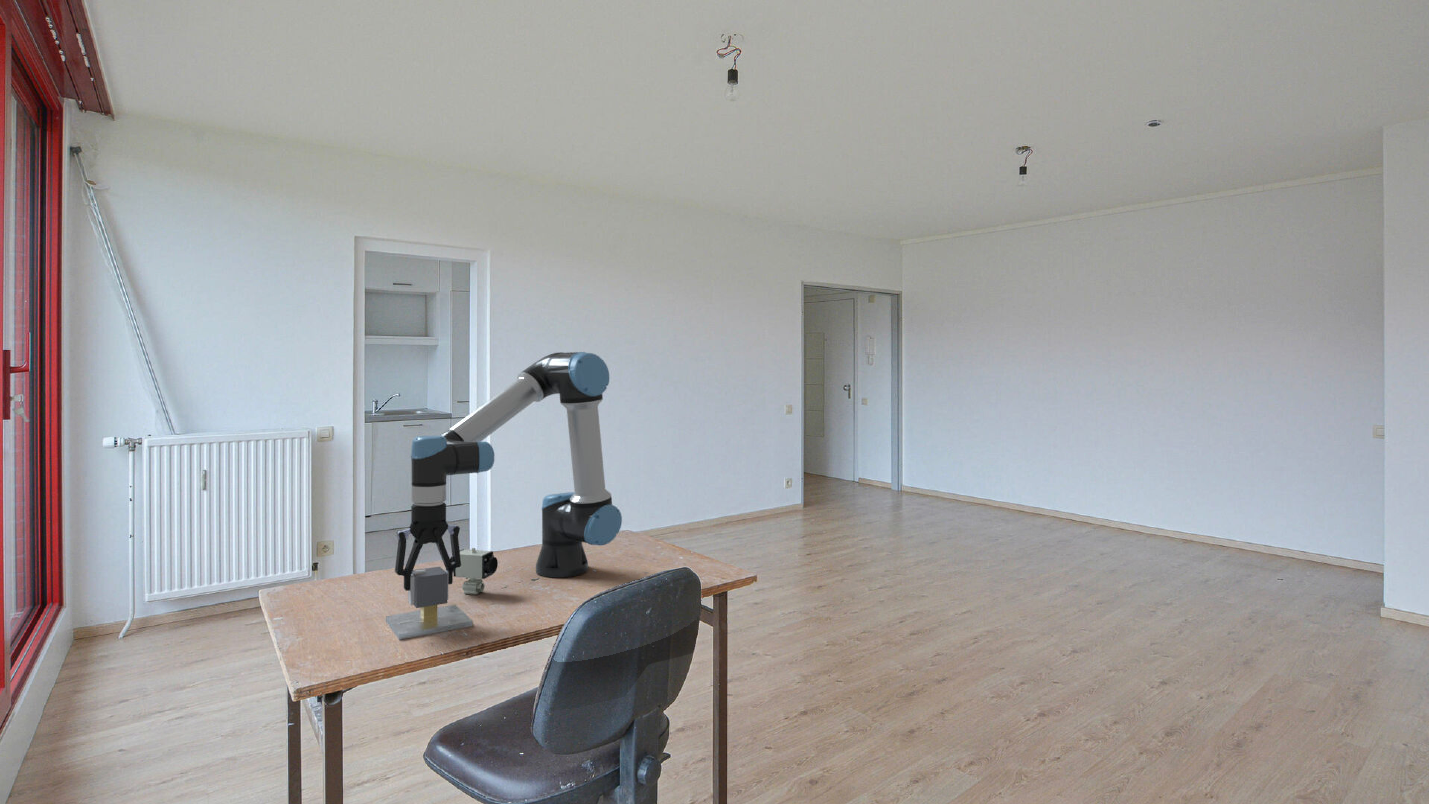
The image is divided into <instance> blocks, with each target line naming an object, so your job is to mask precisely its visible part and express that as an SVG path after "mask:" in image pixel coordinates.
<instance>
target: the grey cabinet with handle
mask: <svg viewBox="0 0 1429 804" xmlns="http://www.w3.org/2000/svg"><path fill="white" fill-rule="evenodd" d="M444 570H445V569H444V568H443V567H441V566H433V567H425V568H418V569H413V571H412V575H413V576H414V577H415V590H414V605H413V606H414V607H415V608H416V609H419V608H420V609H421V607H427V606H433V605H437V606H438V605H439V606H440V605H443V604H445V605H446V604H448V600H447V594H448V595H449V584H448V573H447V572H445V571H444Z"/></svg>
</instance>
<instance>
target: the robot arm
mask: <svg viewBox="0 0 1429 804" xmlns="http://www.w3.org/2000/svg"><path fill="white" fill-rule="evenodd" d="M609 384H610V372H609V368H608V365H607V363H606V362H605V360H603V359H602V358H601V357H600V356H599V355H598V354H595V353H591V352H585V351H583V352H582V351H579V352H578V351H575V352H570V351H569V352H553V353H550V354H548V355H545V356H544V357H542V358H540V359H539V360H537V361H536V362H533V363H532V364H530V365H529V366H528V367H527V368H525V369H524V370H522V371H521V372H520V373H518V375H517V379H516V380H514V381H513V382H512V383H511V384H509V385H508V386H506V387H505V388H504V389H503V390H501V391H499V392H498V393H497V394H496V395H494V396H493V397H491V398H490V399H489V400H487V401H486V402H485V403H483V404H482V405H480V406H479V407H478V408H476V409H475V410H474V411H472V412H471V413H469V414H468V415H467V416H465V417H464V418H462V419H461V420H460V421H459V422H456V424H454V425H453V426H451V427H450V428H448V429H447V430H446V431H445V432H443V433H442V434H440V435H421V436H420V435H419V436H416V437H415V438H413V439H412V444H411V453H410V459H411V503H413V504H412V505H411V509H410V513H411V514H410V515H411V518H410V521H411V522H410V525H409V527H408V528H405V529H404V530H401V529H398V530H397V531H396V536H397V539H398V543H397V551H396V558H395V567H394V573H395V574H396V575H398V576H403V590H404V591H406V592H407V591H408V593H407V596H408V598H407V599H408V601H407V603H408V604H409V605H410V606H414V590H415V577H414V576H413V575H412V571H413V570H415V565H416V563H417V560H418V557H419V555H420V552H421V549H423V546H424V545H427V544H429V543H430V544H435V545H436V547H437V550H438V552H439V554H440V557H441V559H442V562H443V565H444V568H445V569H443V570H444V571H445V572H447V573H448V585H452V584H453V580H454V579H453V577H454V573H453V571H454V569H455V568H457V567H460V566H461V559H460V542H459V533H460V530H461V527H460V526H458V525H457V524H448V522H447V504H446V501H447V476H453V475H454V476H457V475H464V474H465V475H466V474H479V473H484V472H488V471H490V470H491V469H492V468H493V466H494V463H495V451H494V450H495V449H494V448H493V447H492V445H491V443H490V442H488V441H484V440H485V439H486V438H488V437H489V436H490V435H492V434H493V433H494V432H495V431H497V430H498V429H500V428H501V427H503V426H504V425H505V424H506V423H508V422H509V421H511V419H513V418H514V417H516V416H517V415H518V414H519V413H521V412H522V411H524V410H525V409H526V408H527V407H528V406H530V405H531V404H533V403H534V402H536V403H538V402H541V401H543V400H544V399H546V398H547V397H549V396H552V395H556V394H557V395H559V400H560V401H559V402H560V404H561V406H563V407H564V408H565V409H566V414H567V415H566V417H567V426H568V436H569V437H568V438H569V446H570V458H571V468H572V469H571V470H572V476H573V478H572V481H573V489H574V491H573V492H571V491H570V492H559V493H553V494H552V493H551V494H547V495H546V496H544V497H543V499H542V505H541V506H542V507H541V517H542V518H541V520H542V521H541V525H542V526H541V528H542V529H541V530H542V531H541V532H542V533H541V534H542V535H541V537H542V538H541V539H542V540H541V548H540V551H539V553H538V554H539V555H538V557H537V560H536V563H535V573H536V574H537V575H539V576H543V577H547V578H570V577H575V576H579V575H583V574H585V573H586V572H588V571H589V561H588V558H587V555H586V552H585V549H584V545H583V543H585V544H588V545H591V546H598V547H599V546H605V545H607V544H610V543H611V542H612V541H614V540H615V538H616V537H617V534H619V532H620V530H621V527H622V524H623V522H622V521H623V519H622V518H623V516H622V512H621V511H620V509H619V508H618V507H617V506H616V505H614V504H613V501H612V500H613V499H612V498H613V497H612V493H611V492H610V491H608V490H607V488H606V482H605V470H604V460H603V449H602V438H601V437H602V435H601V425H600V415H599V404H600V403H602V401H603V400H604V398H603V393H605V391H607V388H608V387H607V386H609ZM446 532H448V534H449V538H450V540H449V541H450V549H451V556H452V559H453V562H452V563H451V561H450V558H451V557H450V556H449V553H448V550H447V548H446V546H445V542H444V540H443V536H444V534H446ZM410 534H411V536H413V537H414V541H413V543H412V548H411V551H410V553H409V556H408V558H407V560H406V564H405V558H406V549H407V540H409V536H410ZM448 600H449V593H448V594H447V601H448Z"/></svg>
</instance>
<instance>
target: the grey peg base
mask: <svg viewBox="0 0 1429 804" xmlns="http://www.w3.org/2000/svg"><path fill="white" fill-rule="evenodd" d="M385 622H386V623H387V625H388V627H389V628H390V629H391V631H392V633H394V635H395V636H396V638H397V639H398V640H399V641H401V640H405V639H410V638H417V637H421V636H427V635H432V634H437V633H442V632H443V633H444V632H449V631H452V630H458V629H463V628H469V627H473V625H474V621H473V619H471V618H470V617H469V616H468V615H467V614H466V613H465V612H464V611H463V610H462V609H461V608H460V607H459V606H458V605H457V604H455V603H454V604H449V605H445V606H443V605H442V606H438V605H433V606H427V607H421V608H420V610H414V611H409V612H401V613H397V614H390V615H386V616H385Z"/></svg>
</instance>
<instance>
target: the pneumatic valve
mask: <svg viewBox="0 0 1429 804" xmlns="http://www.w3.org/2000/svg"><path fill="white" fill-rule="evenodd" d="M459 550H460V549H459ZM449 558H450V561H451V563H452V562H453V559H452V555H451V556H450V557H449ZM460 559H461V566H460V567H457V568H455V569H454V571H453V577H455V578H465V581H463V583H462V590H463V594H464V595H472V596H473V595H474V596H477V595H478V594H479V593H481V592H484V589H485V583H484V581H483V580H485V579H487V578H490V576H493V575H494V574H495V573H496V572H497V569H498V567H499V566H498V562H499V561H498V558H497V557H496V556H495V555H494V551H491V550H483V549H481V550H479V549H476V548H475V547H472V548H471V549H464V548H463V549H461V550H460Z"/></svg>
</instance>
